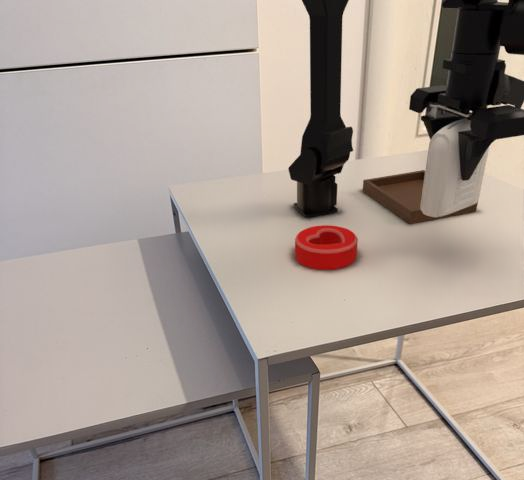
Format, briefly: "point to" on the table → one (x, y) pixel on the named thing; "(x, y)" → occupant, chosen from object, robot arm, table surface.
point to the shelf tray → (404, 195)
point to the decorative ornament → (326, 247)
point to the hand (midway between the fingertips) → (454, 174)
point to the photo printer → (449, 174)
